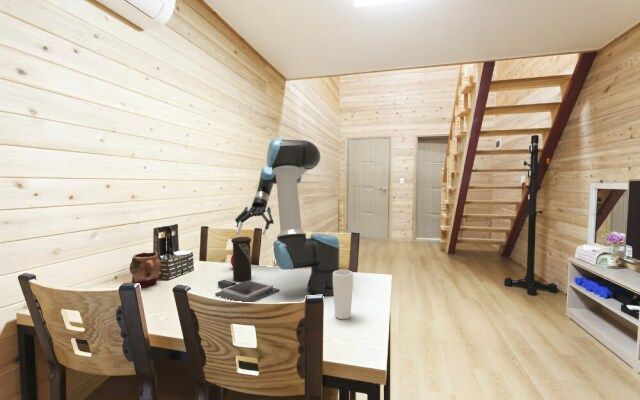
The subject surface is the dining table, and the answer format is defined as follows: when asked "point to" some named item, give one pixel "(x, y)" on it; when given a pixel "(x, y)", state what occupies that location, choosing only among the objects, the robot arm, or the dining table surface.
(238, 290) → the base
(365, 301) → the dining table surface
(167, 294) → the dining table surface
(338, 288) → the drinking glass
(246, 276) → the container
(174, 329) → the dining table surface
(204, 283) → the dining table surface
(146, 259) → the decorative planter
